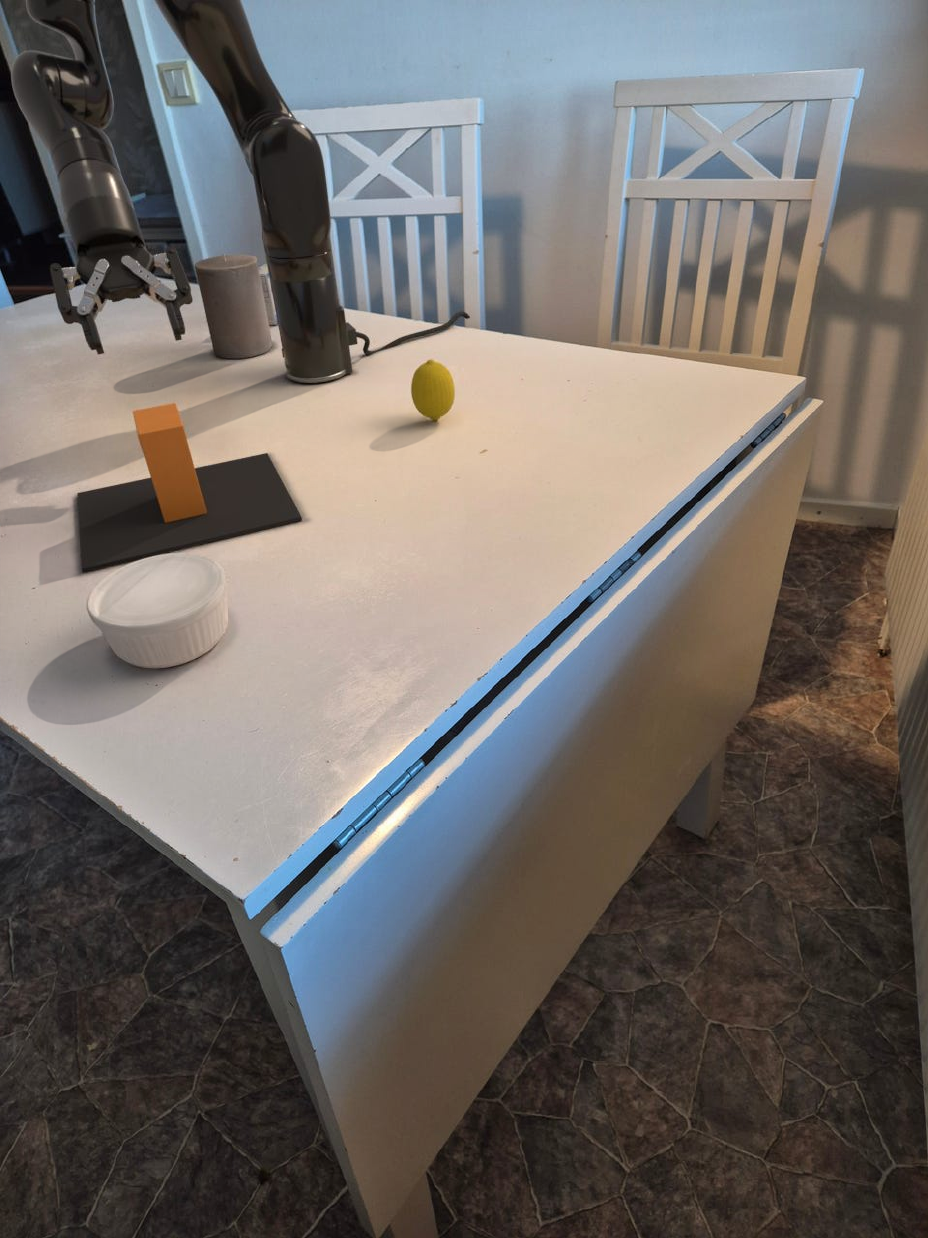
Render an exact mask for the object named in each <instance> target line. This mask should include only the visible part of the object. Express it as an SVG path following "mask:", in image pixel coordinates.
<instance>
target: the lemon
mask: <svg viewBox="0 0 928 1238" xmlns="http://www.w3.org/2000/svg"><path fill="white" fill-rule="evenodd" d="M410 393H411V400H412V403H413V405H414V407H415V409H416V410H417V411H418V413H419V414H421V415H422V416H424V417H426V418H429V419H430V420H432V422H437V421H438V420H440V418H442V417H444V416H446V415H447V414H448V413H449V412H450V411H451V409H452V407H453V405H454V403H455V395H456V389H455V383H454V380H453V376H452V374H451V372H450V370H449V369H448V368H447V367H446V366H445V365H444V364H442V363H440V362H438V361H435V360H434V359H427V361H426V362H424V363H422V364H421V365H419V366H418V367H417V368H416V370H415V371H414V373H413V376H412V378H411V385H410Z"/></svg>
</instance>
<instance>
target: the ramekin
mask: <svg viewBox="0 0 928 1238" xmlns="http://www.w3.org/2000/svg"><path fill="white" fill-rule="evenodd" d="M227 590H228V579H227V575H226V572H225V570H224V568H223V566H222V565H221V564H220V563H219V562H218V561H216V560H214V559H213V558H211V557H209V556H204V555H201V554H197V553H189V552H169V553H164V554H160V555H155V556H151V557H147V558H143V559H139V560H134V561H132V562H130V563H128V564H126V565H124V566H122V567H120V568H118V569H116V570H114V571H112V572H111V573H109V574H108V575H106V576H105V577H103V579H101V580H100V581H99V582H98V583H96V585H95V586H94V587H93V588H92V590H91V591H90V592H89V594H88V596H87V600H86V610H87V611H86V612H87V613H88V614H87V615H88V616H89V618H90V620H91V622H92V623H93V624H94V625H95V626H96V627H97V628H98V629H99V631H100V632H101V634H102V635H103V637H104V638H105V640H106V641H107V643H108V644H109V647H110V648H111V649H112V651H113V652H114V653H115V655H116V656H117V657H118V658H119V659H122V661H124V662H126V663H128V664H130V665H133V666H136V667H139V668H144V669H165V668H166V669H167V668H170V667H171V668H172V667H176V666H180V665H183V664H186V663H189V662H191V661H193V660H195V659H198V658H199V657H201V656H203V655H204V654H207V653H208V652H209V651H211V650H212V649H213V648H214V647H215V646H216V645H217V644H218V643H219V642H220V641H221V639H222V637H223V636H224V635H225V632H226V631H227V628H228V624H229V609H228V598H227Z"/></svg>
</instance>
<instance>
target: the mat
mask: <svg viewBox="0 0 928 1238" xmlns="http://www.w3.org/2000/svg"><path fill="white" fill-rule="evenodd" d="M195 471H196V475H197V478H198V482H199V486H200V489H201V493H202V497H203V500H204V504H205V508H206V511H207V514H203V515H198V516H194V517H189V518H185V519H181V520H176V521H172V522H167V523H165V521H164V518H163V515H162V512H161V508H160V505H159V502H158V499H157V495H156V492H155V489H154V486H153V482H152V479H151V477H146V478H142V479H138V480H133V481H128V482H122V483H117V484H114V485H109V486H104V487H98V488H94V489H90V490H84V491H81V492H77V494H76V495H77V513H78V530H79V548H80V549H79V550H80V564H81V565H80V566H81V571H82V573H88V572H92V571H97V570H100V569H105V568H109V567H113V566H117V565H121V564H125V563H129V562H130V563H131V562H135V561H138V560H141V559H145V558H148V557H152V556H157V555H162V554H169V553H173V552H175V551H179V550H185V549H188V548H193V547H196V546H201V545H206V544H210V543H213V542H218V541H222V540H226V539H231V538H235V537H239V536H243V535H247V534H252V533H256V532H260V531H264V530H268V529H272V528H276V527H281V526H286V525H289V524H293V523H297V522H302V521H303V517H302V515H301V513H300V511H299V509H298V508H297V506H296V504H295V502H294V500H293V498H292V497H291V494H290V492H289V490H288V489H287V487H286V485H285V483H284V481H283V480H282V477H281V476H280V473H279V472H278V470H277V468H276V467H275V464H274V463H273V461H272V459H271V457H270V455H269V453H268V452H265V453H260V454H255V455H251V456H247V457H246V456H245V457H242V458H236V459H232V460H226V461H223V462H218V463H212V464H208V465H204V466H198V467H195Z"/></svg>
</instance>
